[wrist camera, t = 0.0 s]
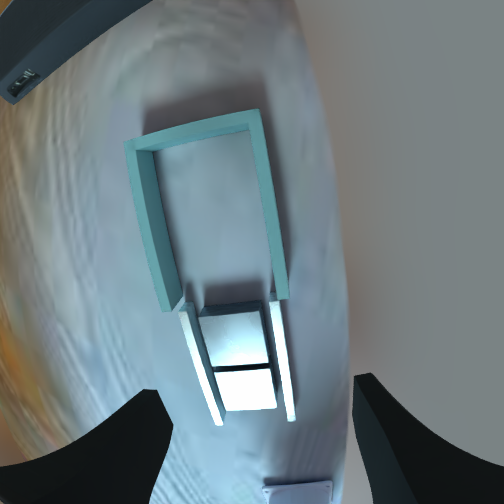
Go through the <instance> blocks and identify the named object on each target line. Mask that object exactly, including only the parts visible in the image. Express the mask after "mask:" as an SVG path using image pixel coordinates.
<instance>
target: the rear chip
mask: <svg viewBox="0 0 504 504" xmlns="http://www.w3.org/2000/svg"><path fill="white" fill-rule="evenodd" d="M214 374H215V377H216V381H217V384H218V387H219V390H220V393H221V396H222V399H223V402H224V405H225V409H226V410H249V409H265V408H277V389H276V384H275V378H274V372H273V367H272V361H271V355H269V362H266V363H255V364H242V365H228V366H216V368H215V371H214Z"/></svg>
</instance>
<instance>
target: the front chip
mask: <svg viewBox="0 0 504 504" xmlns="http://www.w3.org/2000/svg"><path fill="white" fill-rule="evenodd" d="M198 319H199V323H200V326H201V330H202V333H203V337H204V340H205V344H206V347H207V351H208V354H209V358H210V361H211V364H212V366H228V365H242V364H255V363H266V362H269V344H268V338H267V332H266V327H265V321H264V316H263V310H262V304H261V300H256V301H248V302H240V303H231V304H222V305H213V306H204V307H203V309H202V311H201V313H200V315H199V317H198Z"/></svg>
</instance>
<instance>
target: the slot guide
mask: <svg viewBox="0 0 504 504" xmlns="http://www.w3.org/2000/svg"><path fill="white" fill-rule="evenodd" d="M269 304H270V310H271V316H272V322H273V329H274V335H275V341H276V347H277V353H278V360H279V366H280V372H281V378H282V385H283V391H284V397H285V404H286V410H287V416H288V422H289V421H296V414H295V402H294V394H293V387H292V379H291V372H290V365H289V357H288V350H287V343H286V336H285V329H284V322H283V315H282V308H281V302H280V300H278V299H277V292H270V298H269ZM178 313H179V317H180V320H181V324H182V327H183V330H184V333H185V337H186V340H187V343H188V346H189V349H190V353H191V356H192V359H193V362H194V365H195V368H196V371H197V374H198V377H199V380H200V382H201V385H202V388H203V391H204V394H205V397H206V399H207V402H208V405H209V407H210V410H211V413H212V415H213V418H214V421H215V423H216V425H223V423H224V419H225V414H226V411H225V408H224V405H223V402H222V399H221V396H220V393H219V390H218V386H217V383H216V380H215V377H214V374H213V370H212V367H211V364H210V361H209V357H208V354H207V350H206V347H205V344H204V340H203V337H202V333H201V329H200V326H199V322H198V319H197V315H196V311H195V307H194V304H193V301H190V302H185V303H184V304H183V306H182V307H181V309H180V310H179V311H178Z"/></svg>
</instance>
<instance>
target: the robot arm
mask: <svg viewBox="0 0 504 504" xmlns="http://www.w3.org/2000/svg"><path fill="white" fill-rule="evenodd" d="M353 389H354V390H353V410H352V416H353V422H354V428H355V434H356V439H357V442H358V445H359V449H360V452H361V456H362V459H363V462H364V465H365V469H366V472H367V476H368V480H369V483H370V487H371V492H372V497H373V504H504V466H500V465H496V464H493V463H490V462H488V461H485V460H483V459H480V458H478V457H476V456H474V455H471V454H470V453H468V452H465V451H463V450H461V449H459V448H457V447H456V446H454V445H452V444H451V443H449V442H447V441H446V440H444V439H443V438H441V437H440V436H438V435H437V434H435V433H434V432H432V431H431V430H430V429H428V428H427V427H426V426H425V425H423V424H422V423H421V422H420V421H419V420H417V419H416V418H415V417H414V416H413V415H411V414H410V413H409V412H408V411H407V410H406V409H405V408H404V407H403V406H402V405H401V404H400V403H399V402H398V401H397V400H396V399H395V398H394V397H393V396H392V395H391V394H390V393H389V392H388V391H387V390H386V389H385V387H384V386H383V385H382V384H381V383H380V382H379V381H378V379H377V378H376V377H375V376H374V375H373V374H372V373H367V374H361V375H356V376H354V388H353ZM172 430H173V423H172V421H171V419H170V417H169V415H168V413H167V411H166V409H165V406H164V404H163V402H162V400H161V398H160V396H159V393H158V391H157V390H148V389H143V390H142V391H140V392H139V393H138V394H137V395H135V396H134V397H133V398H132V399H130V400H129V401H128V402H127V403H126V404H124V405H123V406H122V407H121V408H120V409H118V410H117V411H116V412H115V413H113V414H112V415H111V416H110V417H109V418H107V419H106V420H105V421H103V422H102V423H101V424H99V425H98V426H97V427H95V428H94V429H92V430H91V431H90V432H88V433H87V434H85V435H84V436H82V437H81V438H79V439H78V440H76V441H74V442H72V443H71V444H69V445H67V446H65V447H63V448H61V449H59V450H57V451H54V452H52V453H50V454H48V455H45V456H43V457H40V458H37V459H34V460H31V461H27V462H23V463H20V464H15V465H9V466H3V467H0V500H1V502H3V503H4V504H149V501H150V497H151V493H152V490H153V487H154V485H155V482H156V480H157V477H158V474H159V472H160V469H161V467H162V464H163V461H164V459H165V456H166V453H167V451H168V448H169V444H170V440H171V435H172ZM332 486H333V483H332V481H330V480H329V481H321V482H313V483H304V484H292V485H277V486H263V487H262V492H263V495H264V497H265V500H266V503H267V504H331V501H332Z"/></svg>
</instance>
